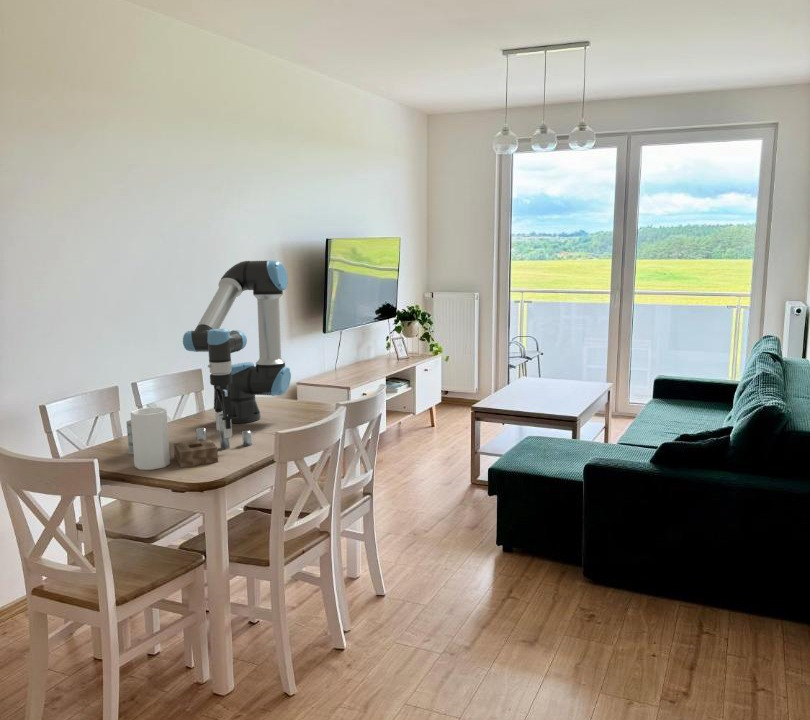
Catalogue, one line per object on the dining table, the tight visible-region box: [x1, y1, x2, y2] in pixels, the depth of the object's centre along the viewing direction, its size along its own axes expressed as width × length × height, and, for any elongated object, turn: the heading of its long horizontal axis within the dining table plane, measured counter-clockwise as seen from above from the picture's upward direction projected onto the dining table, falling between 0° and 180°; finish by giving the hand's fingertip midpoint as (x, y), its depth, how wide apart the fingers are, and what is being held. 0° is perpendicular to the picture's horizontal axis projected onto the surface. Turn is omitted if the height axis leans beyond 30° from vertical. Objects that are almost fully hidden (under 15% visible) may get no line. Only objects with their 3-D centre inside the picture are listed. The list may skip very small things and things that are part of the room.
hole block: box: [173, 438, 219, 468], centre depth 252 cm, size 12×12×5 cm
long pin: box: [218, 414, 231, 450], centre depth 266 cm, size 3×3×12 cm
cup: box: [129, 406, 171, 471], centre depth 246 cm, size 11×11×18 cm
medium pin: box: [195, 427, 207, 441], centre depth 262 cm, size 3×3×8 cm
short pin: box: [241, 429, 253, 447], centre depth 270 cm, size 3×3×5 cm
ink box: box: [126, 419, 134, 455], centre depth 261 cm, size 9×5×12 cm, turn 66°
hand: (224, 433), depth 266 cm, fingers open, 11 cm apart
